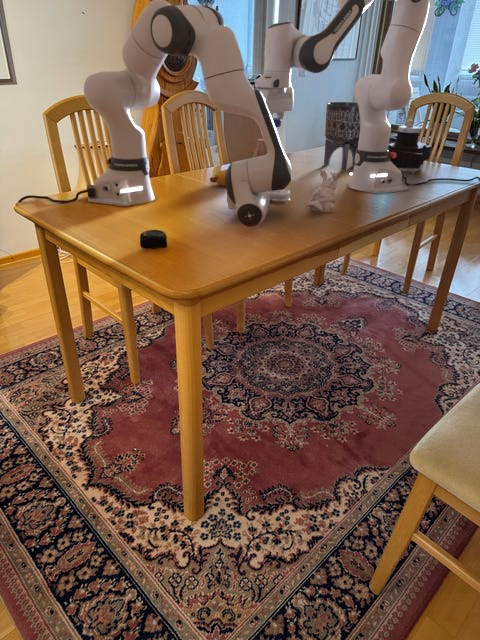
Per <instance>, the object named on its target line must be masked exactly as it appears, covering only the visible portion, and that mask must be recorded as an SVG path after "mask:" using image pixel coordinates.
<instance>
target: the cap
mask: <svg viewBox="0 0 480 640" xmlns="http://www.w3.org/2000/svg"><path fill="white" fill-rule="evenodd" d="M272 118H273V121H274V124H275V127H276V128H280V127H282V123H281V119H279V118H277V117H272Z"/></svg>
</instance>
